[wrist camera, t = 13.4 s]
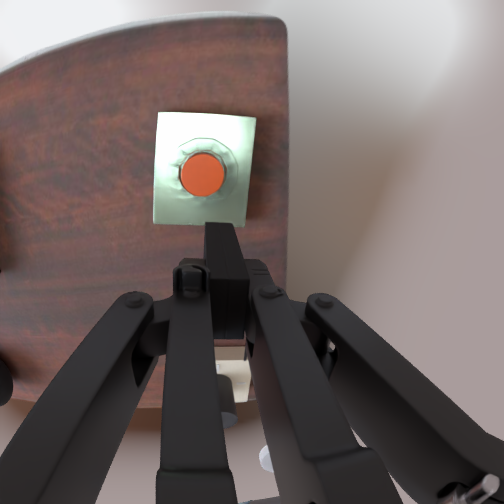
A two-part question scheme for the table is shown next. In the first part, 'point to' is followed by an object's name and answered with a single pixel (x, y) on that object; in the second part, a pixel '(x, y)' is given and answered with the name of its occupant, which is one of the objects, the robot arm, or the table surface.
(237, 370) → the knob panel
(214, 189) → the button
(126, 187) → the table surface
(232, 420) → the knob
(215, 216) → the button box
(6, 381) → the speaker
